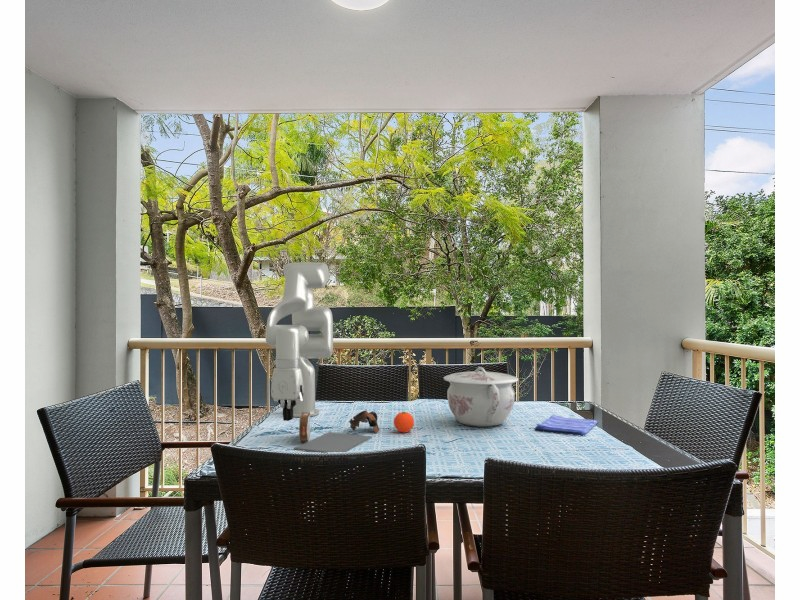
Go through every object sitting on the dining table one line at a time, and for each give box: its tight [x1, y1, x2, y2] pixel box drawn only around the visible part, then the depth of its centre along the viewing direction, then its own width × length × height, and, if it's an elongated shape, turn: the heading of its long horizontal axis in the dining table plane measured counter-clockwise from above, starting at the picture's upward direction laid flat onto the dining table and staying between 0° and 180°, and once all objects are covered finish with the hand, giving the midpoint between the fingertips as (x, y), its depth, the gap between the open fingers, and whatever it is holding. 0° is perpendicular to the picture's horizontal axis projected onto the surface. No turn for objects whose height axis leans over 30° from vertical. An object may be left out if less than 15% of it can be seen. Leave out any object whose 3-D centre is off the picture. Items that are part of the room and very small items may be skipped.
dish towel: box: [534, 414, 598, 437], centre depth 208 cm, size 17×24×3 cm
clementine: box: [393, 411, 415, 433], centre depth 201 cm, size 8×7×7 cm
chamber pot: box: [443, 366, 519, 428], centre depth 214 cm, size 28×28×21 cm
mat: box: [293, 431, 373, 453], centre depth 185 cm, size 16×22×1 cm
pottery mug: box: [348, 409, 380, 434], centre depth 203 cm, size 12×10×8 cm
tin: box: [298, 412, 311, 443], centre depth 190 cm, size 15×3×8 cm, turn 5°
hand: (288, 419), depth 192 cm, fingers closed
